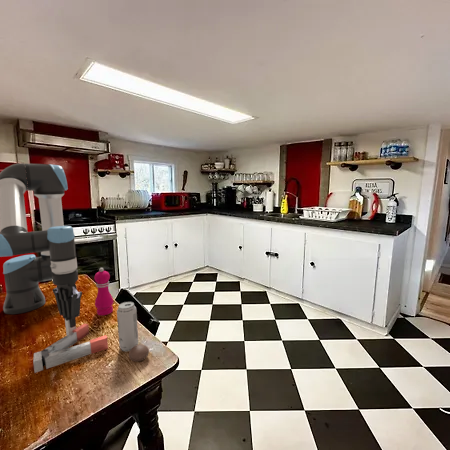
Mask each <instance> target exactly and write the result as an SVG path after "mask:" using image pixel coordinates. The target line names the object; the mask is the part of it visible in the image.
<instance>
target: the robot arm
mask: <svg viewBox="0 0 450 450" xmlns="http://www.w3.org/2000/svg"><path fill="white" fill-rule="evenodd" d="M68 187H69V186H68V181H67V177H66V173H65V170H64V168H63V166H61V165H58V164H51V163H47V164H45V163H25V162H21V163H19V162H18V163H13V164H11V165H9V166H7V167H5V168H4V169H3V170H1V171H0V258H2V257H3V258H4V257H12V258H10V259H8V260H6V261H5V262H4V263H3V265H2V268H3V272H2V274H3V275H4V283H5V285H4V286H5V291H6V296H5V300H4V303H3V306H2V309H3V313H4V314H5V315H17V314H24V313H29V312H31V311H35V310H36V309H39V308H40V307H42V306H44V305H45V304H46V297H45V295H44V293H43V292H42V290H41V288H40V285H39V283H40V282H41V283H42V282H46V281H52V284H53V285H55V286H56V287H55V288H53V289H52V293H53V295H54V298H55V301H56V306H57V309H58V313H59V315H60V316H62V318H63V319H64V324H65V325H64V326H65V332H66V333H65V334H66V335H65V336H67V335H68V334H70V333H72V332H73V330H74V329H76V328H77V321H76V318H77V317H80V315H81V313H80V312H81V299H82V295H83V292H82V291H78V288H77V285H76V282H77V281H78V280H79V273H78V271H79V270H78V261H77V253H76V243H75V242H76V241H75V237H76V236H75V232H74V228H73V227H72V226H71V225H64V223H65V222H64V215H63V214H64V213H63V205H62V204H63V203H62V202H63V201H62V197H63V196H64V195H65V191H67V190H68V189H69V188H68ZM26 191H33V196H34V197H36V198H38V204H39V213H40V221H41V222H40V223H41V230H36V231H35V230H34V231H28V225H27V224H28V223H27V215H26V214H27V213H26V206H25V205H26V204H25V197H24V195H25V193H26ZM35 253H40V256H36V255H35ZM18 255H19V256H18ZM14 256H16V257H14Z"/></svg>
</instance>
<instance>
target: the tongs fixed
mask: <svg viewBox="0 0 450 450" xmlns="http://www.w3.org/2000/svg"><path fill="white" fill-rule="evenodd" d="M108 341H109V340H108V336H107V334H105V335H102V336H99V337H95V338H93V339H89V341H86V342H83V343H80V344H77V345H74V346H73V345H72V346H70V347H69V348H67V349H64V350H60V351H57V352H54V353H51V354H49V351H48V349H46V348H44V349H42V350H41V351H37V352H34V353H33V361H32V362H33V370H34V374H36V373H39V372H41V371H44V367H45V368H46V370H48V369H50V368H53V367H56V366H60V365H62V364H65V363H67V362H71V361H74V360H77V359H79V358H83V357H86V356H88V355H92V354H96V353H99V352H101V351H105V350H107V349H109V344H108Z"/></svg>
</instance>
